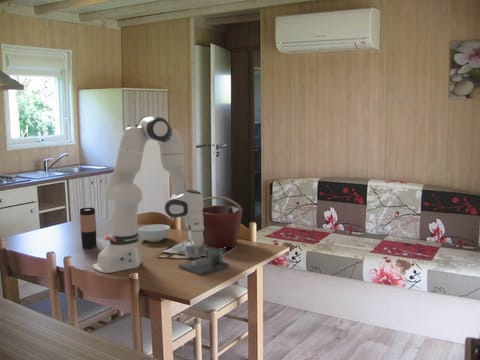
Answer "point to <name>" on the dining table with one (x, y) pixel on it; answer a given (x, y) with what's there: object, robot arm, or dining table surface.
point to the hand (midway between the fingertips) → (195, 251)
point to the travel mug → (88, 228)
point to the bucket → (221, 224)
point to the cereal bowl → (154, 232)
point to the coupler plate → (204, 268)
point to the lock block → (190, 249)
